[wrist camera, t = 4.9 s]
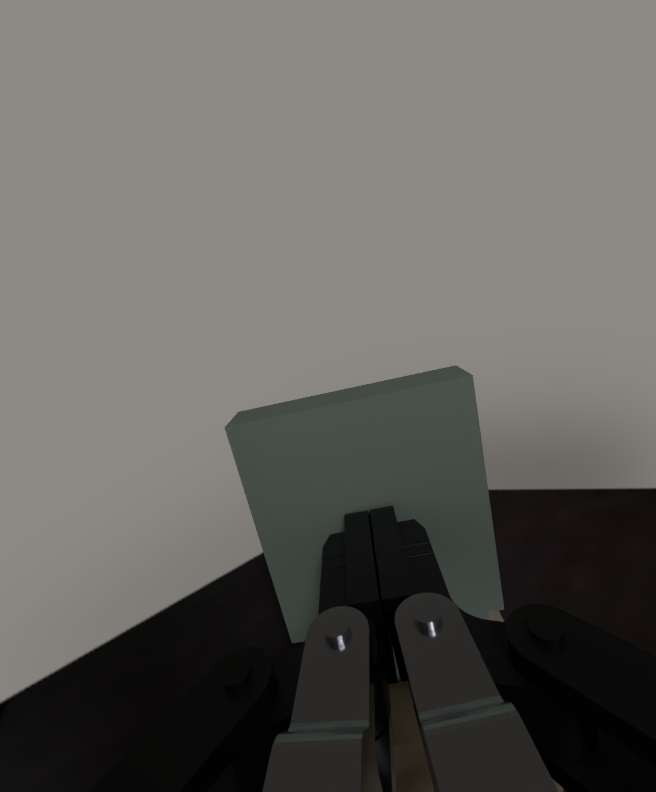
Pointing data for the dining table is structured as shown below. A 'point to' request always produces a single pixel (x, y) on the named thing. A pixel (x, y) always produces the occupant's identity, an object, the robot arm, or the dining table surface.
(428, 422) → the green rectangular slab
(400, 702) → the beige open box
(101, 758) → the dining table surface
